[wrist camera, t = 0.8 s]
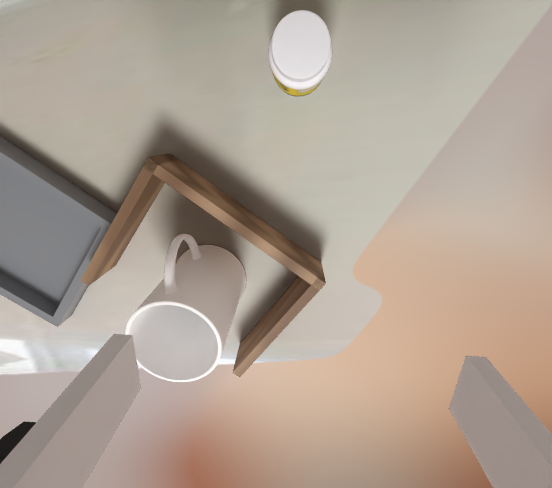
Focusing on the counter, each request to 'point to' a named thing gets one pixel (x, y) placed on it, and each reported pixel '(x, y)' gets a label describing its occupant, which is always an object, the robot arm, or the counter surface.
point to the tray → (45, 235)
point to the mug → (188, 312)
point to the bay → (232, 216)
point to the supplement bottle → (300, 52)
